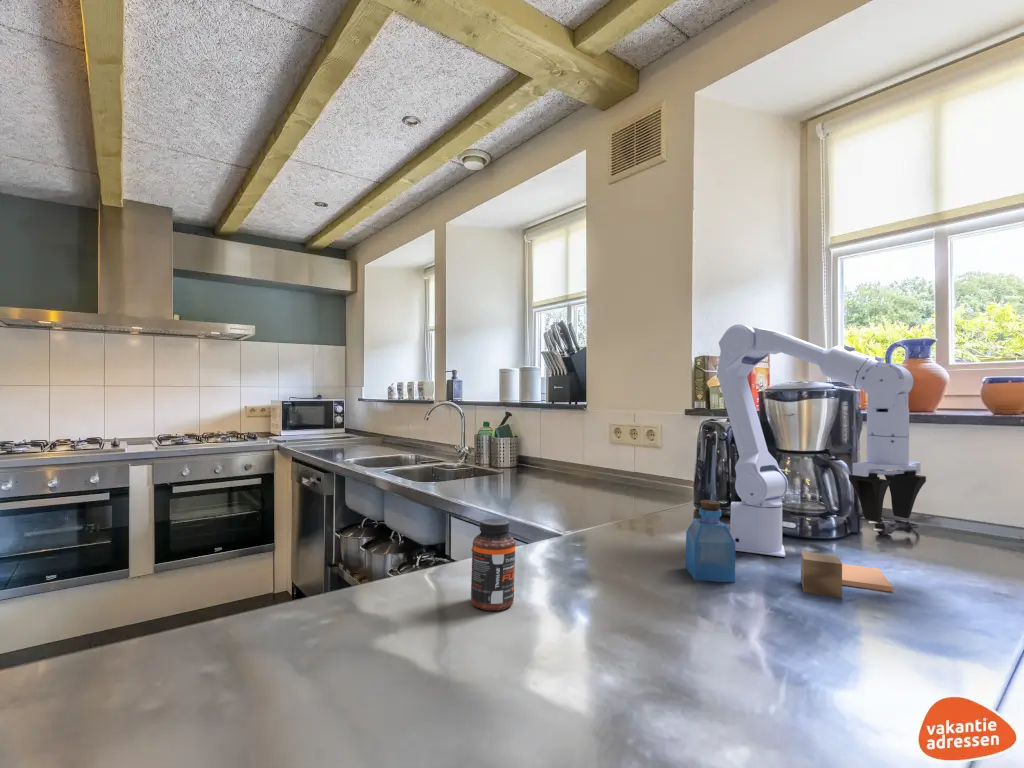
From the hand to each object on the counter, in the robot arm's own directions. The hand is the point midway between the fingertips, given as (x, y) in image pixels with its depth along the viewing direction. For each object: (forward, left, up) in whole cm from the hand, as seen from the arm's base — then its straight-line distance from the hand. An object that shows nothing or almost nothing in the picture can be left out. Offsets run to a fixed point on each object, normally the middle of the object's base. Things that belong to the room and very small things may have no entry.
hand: (887, 518), depth 87 cm
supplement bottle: (-53, -40, -10) cm, 67 cm away
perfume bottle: (-27, -12, -10) cm, 31 cm away
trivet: (-6, -2, -10) cm, 11 cm away
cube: (-11, -11, -10) cm, 18 cm away
